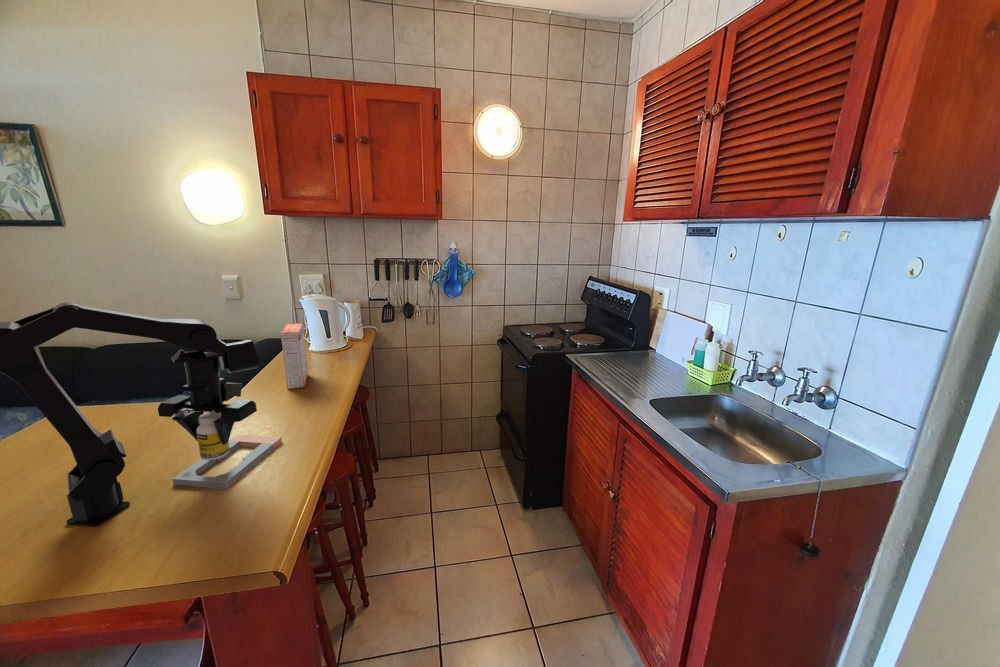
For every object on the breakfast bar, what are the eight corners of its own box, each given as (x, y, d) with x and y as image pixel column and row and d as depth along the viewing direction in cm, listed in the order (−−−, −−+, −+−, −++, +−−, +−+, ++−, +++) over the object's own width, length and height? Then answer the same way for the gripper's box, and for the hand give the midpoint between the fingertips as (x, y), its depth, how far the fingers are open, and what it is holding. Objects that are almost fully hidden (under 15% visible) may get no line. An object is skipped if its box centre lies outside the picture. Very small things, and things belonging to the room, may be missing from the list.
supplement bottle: (196, 462, 86) (189, 421, 84) (206, 450, 91) (200, 411, 89) (224, 459, 88) (218, 419, 86) (233, 447, 93) (227, 409, 91)
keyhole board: (225, 489, 85) (224, 483, 85) (173, 484, 86) (172, 478, 86) (282, 442, 105) (281, 437, 104) (239, 439, 105) (238, 433, 105)
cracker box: (291, 376, 151) (286, 323, 146) (308, 374, 153) (304, 322, 148) (285, 389, 138) (279, 332, 133) (304, 388, 140) (299, 331, 135)
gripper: (268, 368, 92) (275, 428, 96) (193, 363, 93) (203, 423, 97) (234, 385, 82) (243, 453, 85) (149, 380, 83) (162, 446, 86)
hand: (213, 442), depth 89 cm, fingers closed on supplement bottle, 5 cm apart
